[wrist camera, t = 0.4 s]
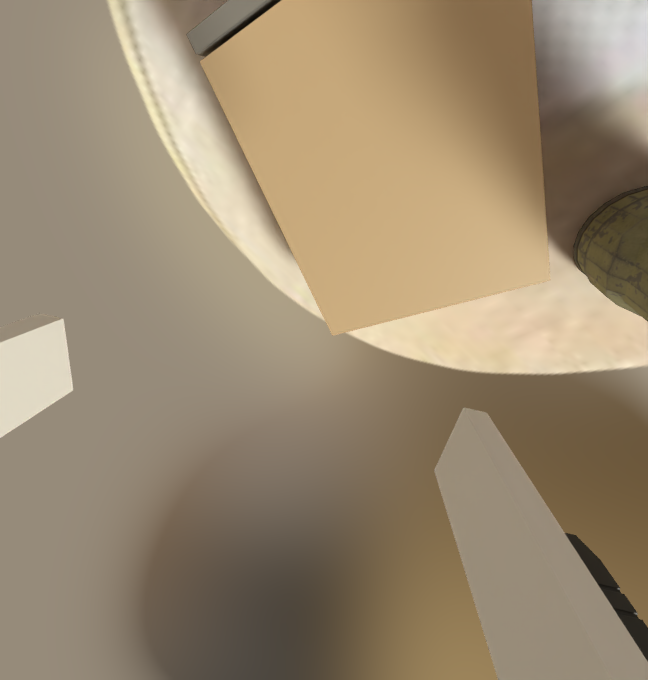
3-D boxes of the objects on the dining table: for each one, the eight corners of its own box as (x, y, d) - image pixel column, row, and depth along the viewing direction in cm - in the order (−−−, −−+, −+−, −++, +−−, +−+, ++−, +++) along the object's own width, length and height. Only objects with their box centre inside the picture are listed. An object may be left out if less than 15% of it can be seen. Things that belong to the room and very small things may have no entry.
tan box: (478, -77, 20) (519, -179, 13) (515, 241, 31) (550, 280, 24) (252, 74, 27) (199, 61, 20) (345, 293, 38) (332, 335, 30)
